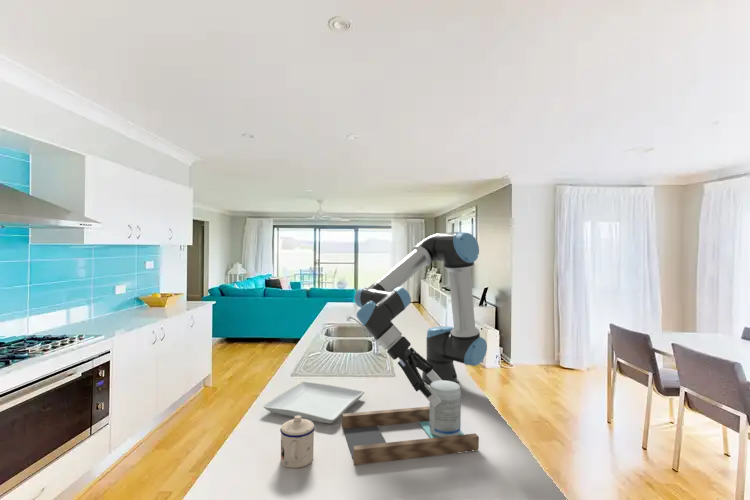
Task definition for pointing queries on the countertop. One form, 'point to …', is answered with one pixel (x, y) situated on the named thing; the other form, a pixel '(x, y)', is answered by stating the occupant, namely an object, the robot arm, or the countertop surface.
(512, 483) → the countertop surface
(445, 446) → the channel rails
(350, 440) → the trap mat
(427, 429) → the pad
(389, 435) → the countertop surface
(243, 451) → the countertop surface
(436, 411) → the supplement tub
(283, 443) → the teacup with lid
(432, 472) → the countertop surface
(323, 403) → the square plate
